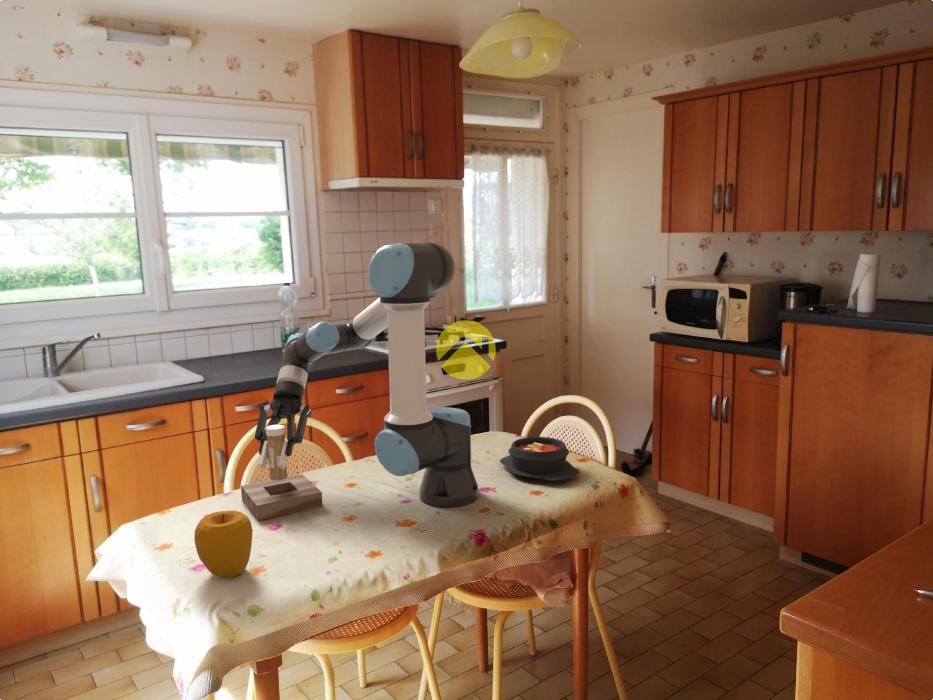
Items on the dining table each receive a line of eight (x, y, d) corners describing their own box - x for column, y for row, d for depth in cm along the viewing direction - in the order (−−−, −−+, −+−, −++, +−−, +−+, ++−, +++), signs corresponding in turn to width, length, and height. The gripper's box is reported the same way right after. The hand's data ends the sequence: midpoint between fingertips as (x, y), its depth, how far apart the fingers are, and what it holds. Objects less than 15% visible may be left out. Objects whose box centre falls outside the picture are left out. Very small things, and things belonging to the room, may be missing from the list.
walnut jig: (322, 507, 175) (321, 491, 174) (257, 521, 167) (256, 505, 166) (302, 487, 188) (301, 473, 188) (241, 500, 180) (240, 485, 180)
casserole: (594, 476, 193) (595, 447, 192) (546, 492, 182) (546, 461, 180) (532, 455, 213) (531, 428, 211) (484, 468, 201) (484, 440, 200)
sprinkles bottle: (287, 480, 175) (284, 428, 173) (268, 481, 174) (265, 429, 172) (287, 474, 180) (284, 423, 178) (269, 475, 179) (266, 424, 176)
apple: (186, 581, 138) (180, 520, 136) (223, 558, 148) (218, 500, 146) (231, 591, 134) (226, 527, 132) (266, 565, 144) (262, 506, 142)
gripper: (325, 394, 188) (310, 474, 175) (263, 393, 190) (242, 473, 176) (319, 379, 182) (302, 460, 169) (254, 378, 184) (232, 459, 170)
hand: (271, 466), depth 173 cm, fingers closed on sprinkles bottle, 4 cm apart
